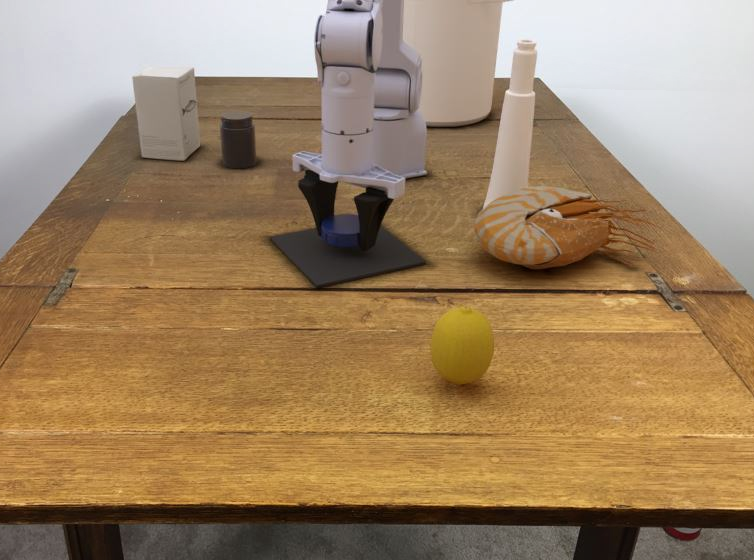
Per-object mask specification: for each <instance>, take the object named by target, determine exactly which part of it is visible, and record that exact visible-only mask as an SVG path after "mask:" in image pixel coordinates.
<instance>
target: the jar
mask: <svg viewBox="0 0 754 560" xmlns="http://www.w3.org/2000/svg"><path fill="white" fill-rule="evenodd" d="M220 121H221V122H220V123H219V133H220V135H219V136H220V146H221V147H220V148H221V160H222V165H223V166H224V167H226V168H229V169H239V170H241V169H248V168H251V167H254V166H255V165H256V164H257V142H256V123H255V122H253V113H252V112H250V111H247V110H229V111H224V112H223V113H221V115H220Z"/></svg>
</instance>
